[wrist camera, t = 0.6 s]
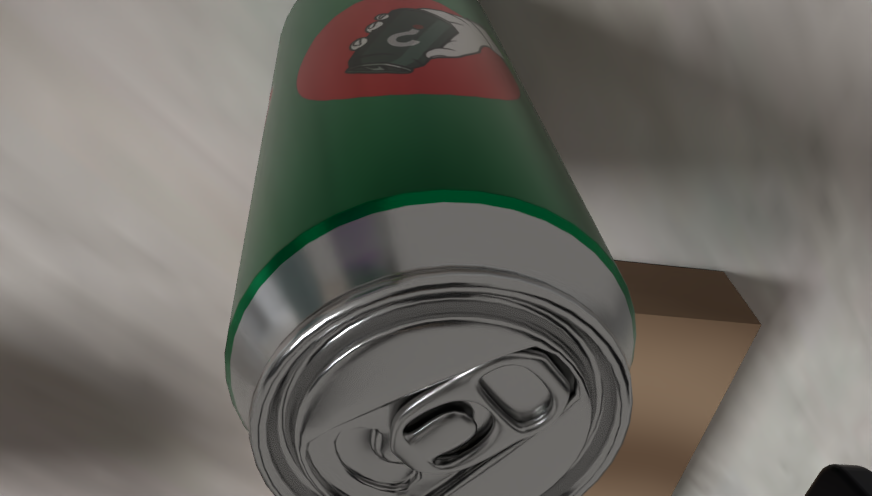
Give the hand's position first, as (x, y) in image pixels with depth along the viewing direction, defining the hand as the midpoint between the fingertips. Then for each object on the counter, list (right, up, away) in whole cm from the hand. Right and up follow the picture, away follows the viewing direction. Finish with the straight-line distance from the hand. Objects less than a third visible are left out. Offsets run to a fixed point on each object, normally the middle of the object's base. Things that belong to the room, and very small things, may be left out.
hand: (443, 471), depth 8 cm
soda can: (-1, +7, +10) cm, 13 cm away
